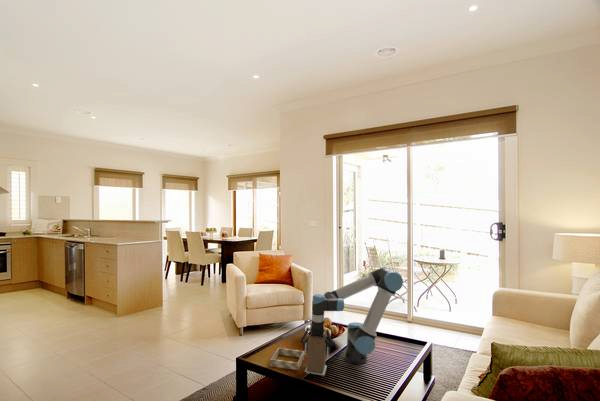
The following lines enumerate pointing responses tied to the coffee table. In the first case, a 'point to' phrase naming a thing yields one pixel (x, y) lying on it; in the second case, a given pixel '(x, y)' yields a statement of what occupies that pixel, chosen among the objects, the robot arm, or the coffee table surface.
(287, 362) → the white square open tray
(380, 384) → the coffee table surface
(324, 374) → the pad
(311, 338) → the wooden block
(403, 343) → the coffee table surface
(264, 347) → the coffee table surface
